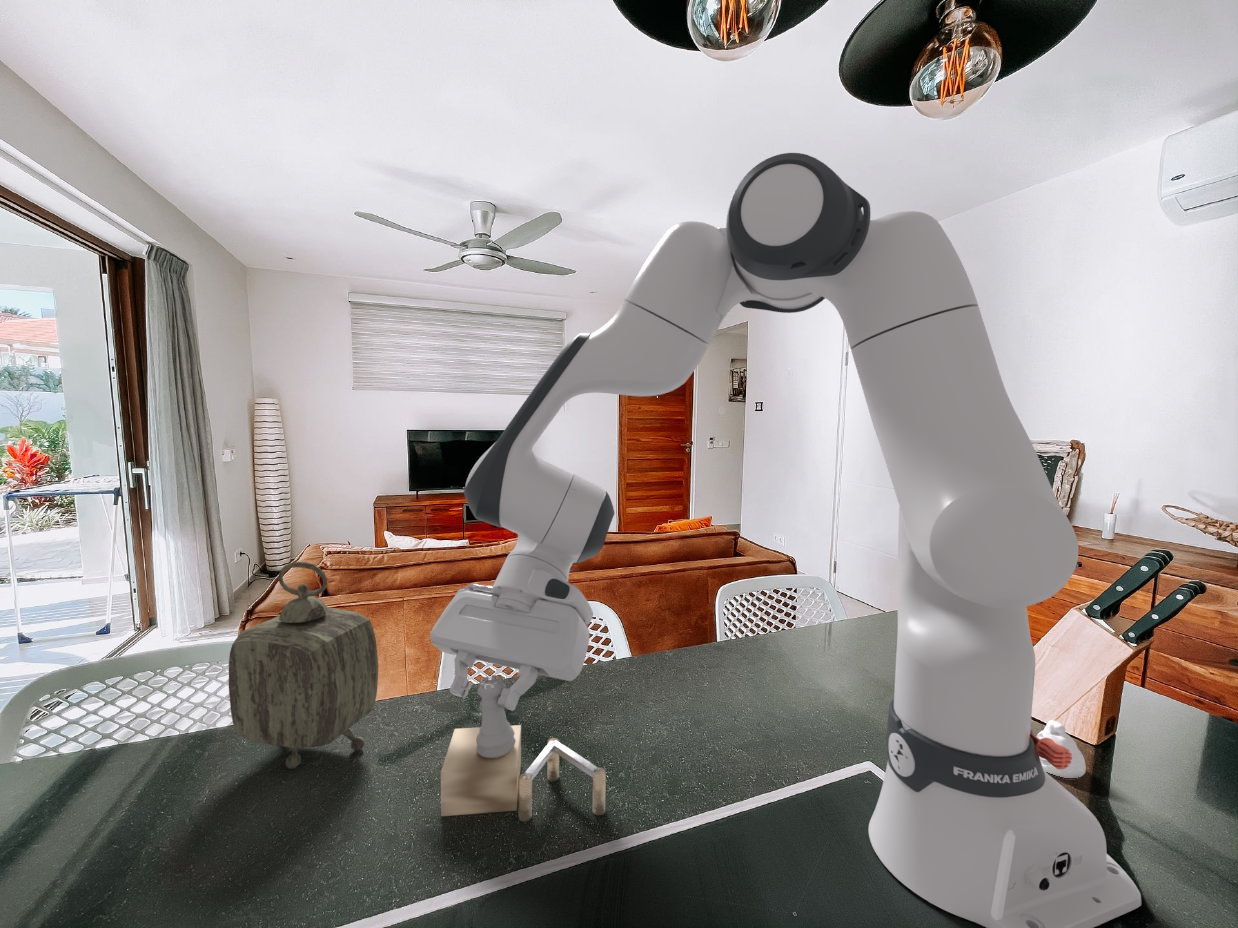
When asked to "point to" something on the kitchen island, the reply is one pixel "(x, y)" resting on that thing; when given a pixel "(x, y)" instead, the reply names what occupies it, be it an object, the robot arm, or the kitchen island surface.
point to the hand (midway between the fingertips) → (480, 701)
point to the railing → (552, 759)
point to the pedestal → (479, 776)
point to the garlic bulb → (1061, 738)
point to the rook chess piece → (493, 721)
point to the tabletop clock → (303, 673)
